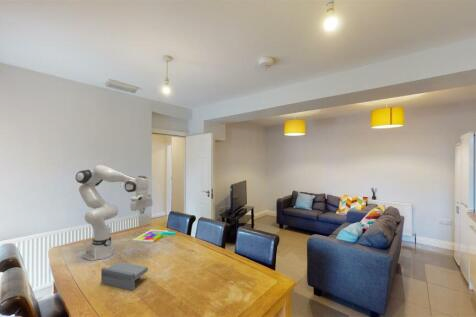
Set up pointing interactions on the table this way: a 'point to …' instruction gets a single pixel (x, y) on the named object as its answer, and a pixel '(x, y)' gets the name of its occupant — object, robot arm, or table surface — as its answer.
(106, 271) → the grey block
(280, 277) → the table surface
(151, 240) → the puzzle game
